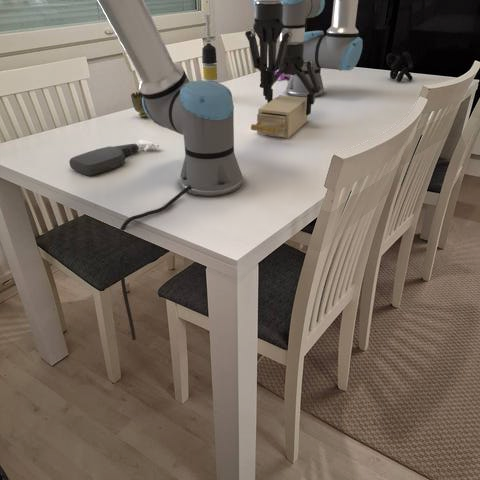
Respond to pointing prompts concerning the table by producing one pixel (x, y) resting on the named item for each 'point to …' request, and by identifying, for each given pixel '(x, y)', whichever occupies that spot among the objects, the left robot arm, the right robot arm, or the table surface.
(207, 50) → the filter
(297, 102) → the wooden box
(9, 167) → the table surface
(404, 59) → the squiggle
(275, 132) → the drawer
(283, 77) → the bracket
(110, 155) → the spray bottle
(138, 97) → the olive irregular piece
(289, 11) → the right robot arm
